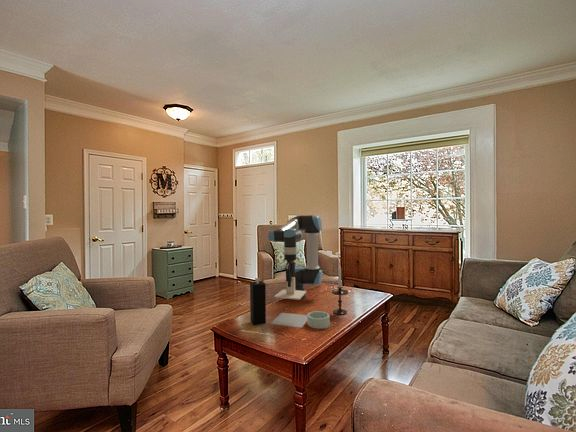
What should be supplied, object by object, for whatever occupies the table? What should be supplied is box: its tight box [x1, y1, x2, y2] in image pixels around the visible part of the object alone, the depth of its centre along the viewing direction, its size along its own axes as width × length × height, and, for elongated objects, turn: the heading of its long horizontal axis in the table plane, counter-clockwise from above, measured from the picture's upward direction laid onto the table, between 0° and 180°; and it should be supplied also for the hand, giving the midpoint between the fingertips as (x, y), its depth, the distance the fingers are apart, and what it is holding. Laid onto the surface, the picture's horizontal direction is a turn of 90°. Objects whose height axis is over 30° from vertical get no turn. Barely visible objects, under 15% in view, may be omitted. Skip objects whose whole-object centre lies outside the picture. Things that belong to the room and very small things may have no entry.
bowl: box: [306, 310, 331, 330], centre depth 177 cm, size 13×13×6 cm
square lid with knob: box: [273, 277, 307, 301], centre depth 185 cm, size 16×16×11 cm
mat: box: [269, 312, 308, 328], centre depth 185 cm, size 20×20×1 cm
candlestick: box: [331, 261, 349, 316], centre depth 198 cm, size 11×11×35 cm
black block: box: [249, 277, 267, 326], centre depth 181 cm, size 8×8×28 cm
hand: (290, 290), depth 185 cm, fingers closed on square lid with knob, 3 cm apart
